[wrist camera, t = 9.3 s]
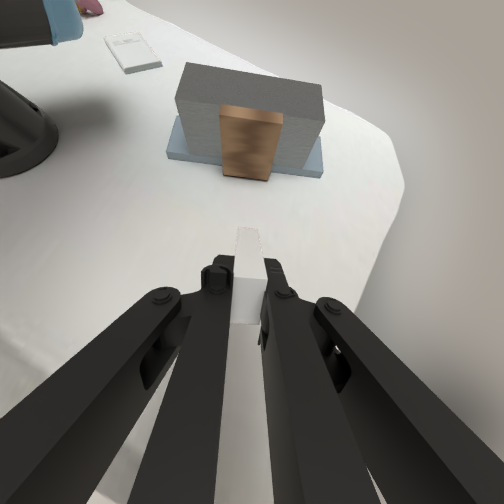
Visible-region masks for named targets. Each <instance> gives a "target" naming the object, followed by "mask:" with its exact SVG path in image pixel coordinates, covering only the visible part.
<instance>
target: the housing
mask: <svg viewBox="0 0 504 504" xmlns="http://www.w3.org/2000/svg"><path fill="white" fill-rule="evenodd" d="M175 102H176V106H177V109H178V113H179V116H176V119H175V123H174V126H173V129H172V133H171V136H170V139H169V143H168V146H167V149H166V153H167V155H168V158H169V159H176V160H184V161H191V162H199V163H207V164H215V165H222V166H223V164H222V150H221V135H220V121H219V112H220V107H221V104H225V105H231V106H238V107H244V108H251V109H257V110H264V111H270V112H277V113H283V125H282V129H281V133H280V137H279V141H278V144H277V148H276V152H275V156H274V160H273V163H272V167H271V171H270V172H277V173H284V174H292V175H300V176H308V177H315V178H320V177H321V175H322V174H323V161H322V150H321V139H320V136H318V135H319V133H320V131H321V129H322V127H323V125H324V123H325V116H324V106H323V97H322V88H321V85H319V84H313V83H307V82H301V81H295V80H289V79H283V78H277V77H271V76H266V75H260V74H254V73H248V72H242V71H236V70H230V69H224V68H218V67H212V66H207V65H201V64H195V63H189V62H186V65H185V68H184V71H183V74H182V77H181V80H180V83H179V86H178V89H177V92H176V96H175Z"/></svg>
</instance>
